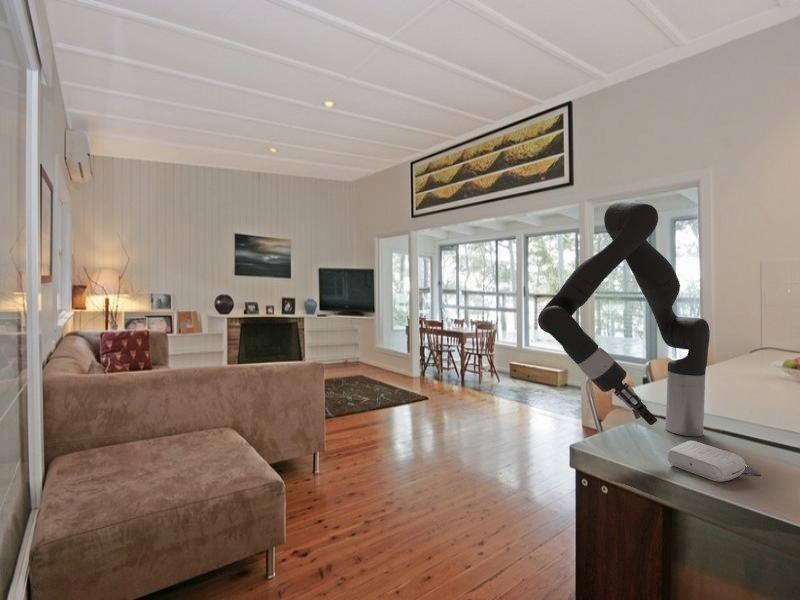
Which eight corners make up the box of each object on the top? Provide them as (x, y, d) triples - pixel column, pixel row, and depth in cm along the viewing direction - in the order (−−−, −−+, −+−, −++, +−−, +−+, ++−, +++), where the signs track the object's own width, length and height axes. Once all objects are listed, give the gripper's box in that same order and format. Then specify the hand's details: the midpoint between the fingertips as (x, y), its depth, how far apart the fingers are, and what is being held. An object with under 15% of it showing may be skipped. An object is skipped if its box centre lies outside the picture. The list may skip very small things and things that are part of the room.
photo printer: (666, 466, 102) (727, 488, 91) (666, 448, 102) (727, 468, 91) (691, 454, 107) (751, 474, 96) (691, 437, 107) (751, 455, 96)
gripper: (619, 362, 102) (676, 420, 100) (607, 355, 115) (657, 405, 112) (593, 383, 104) (649, 440, 101) (584, 373, 117) (633, 424, 114)
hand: (653, 422), depth 107 cm, fingers closed
